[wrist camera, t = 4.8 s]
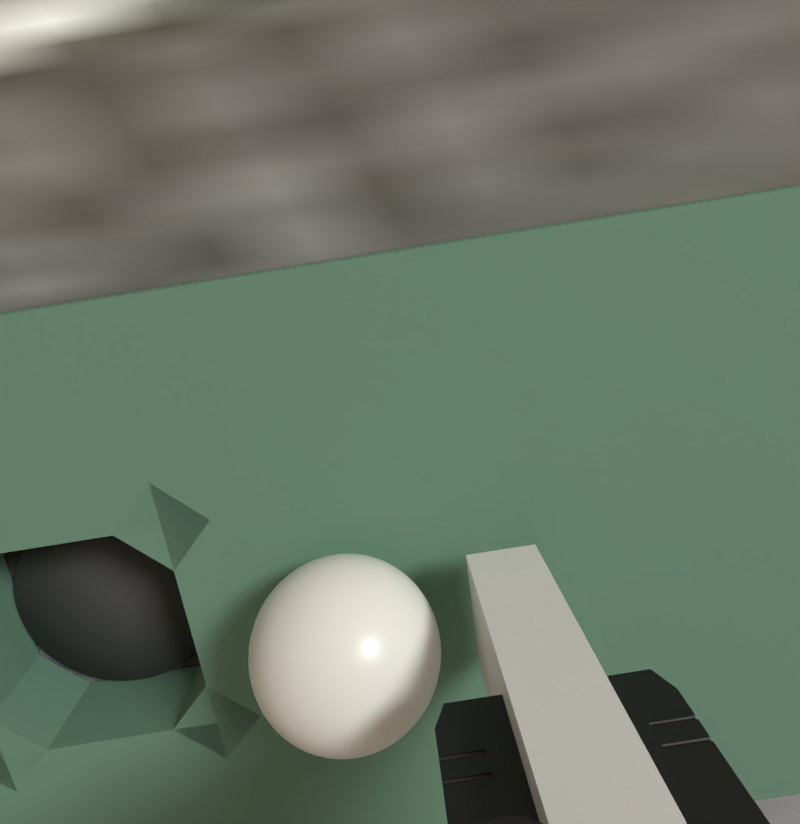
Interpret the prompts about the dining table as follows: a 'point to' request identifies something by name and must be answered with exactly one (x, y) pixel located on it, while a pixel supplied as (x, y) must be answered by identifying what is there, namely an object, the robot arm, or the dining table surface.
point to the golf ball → (344, 656)
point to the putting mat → (398, 497)
